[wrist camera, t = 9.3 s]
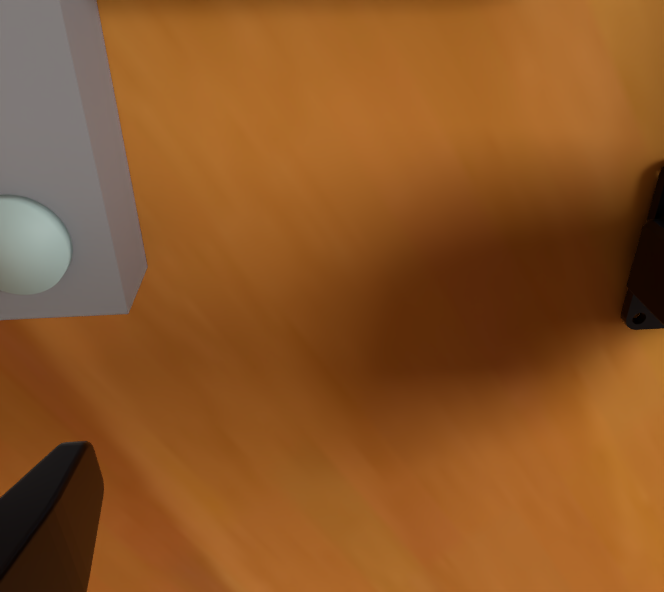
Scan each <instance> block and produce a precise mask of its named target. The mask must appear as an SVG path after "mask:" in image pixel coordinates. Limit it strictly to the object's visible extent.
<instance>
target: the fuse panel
mask: <svg viewBox="0 0 664 592" xmlns="http://www.w3.org/2000/svg"><path fill="white" fill-rule="evenodd" d="M146 270H147V261H146V256H145V251H144V246H143V241H142V235H141V230H140V225H139V220H138V215H137V209H136V204H135V199H134V194H133V189H132V183H131V178H130V173H129V168H128V163H127V157H126V152H125V147H124V142H123V136H122V131H121V126H120V121H119V116H118V110H117V105H116V100H115V95H114V90H113V84H112V79H111V74H110V69H109V64H108V58H107V53H106V48H105V43H104V38H103V32H102V27H101V22H100V17H99V12H98V6H97V1H96V0H0V320H10V319H32V318H53V317H74V316H95V315H116V314H129V311H130V309H131V306H132V304H133V301H134V299H135V296H136V294H137V292H138V289H139V287H140V284H141V282H142V279H143V277H144V274H145V272H146Z"/></svg>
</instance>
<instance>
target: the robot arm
mask: <svg viewBox="0 0 664 592" xmlns="http://www.w3.org/2000/svg"><path fill="white" fill-rule="evenodd" d="M627 288H628V290H627V294H626V297H625V301H624V305H623V308H622V312H621V319H622V321H623V322H624V323H625V324H626V325H627V327H629V328H630V329H634V330H640V329H660V328H664V167H663V168H662V169H661V172H660V174H659V177H658V181H657V185H656V188H655V192H654V196H653V199H652V203H651V206H650V210H649V214H648V217H647V221H646V223H645V224H644V226H643V227H642V231H641V235H640V238H639V242H638V246H637V249H636V253H635V257H634V260H633V264H632V268H631V271H630V275H629V279H628V282H627ZM638 313H640V314H639V316H637V317H636V318H633V317H634V316H635V315H636V314H638ZM103 494H104V483H103V478H102V474H101V471H100V467H99V464H98V461H97V457H96V454H95V451H94V448H93V446H92V444H91V443H90V442H87V441H78V442H65V443H61V444H60V445H58V446H57V447H56V448H55V449H53V450H52V451H51V452H50V453H49V454H48V455H47V456H46V457H45V458H44V459H42V460H41V461H40V462H39V463H38V464H37V465H36V466H35V467H34V468H33V469H31V470H30V471H29V472H28V473H27V474H26V475H25V476H24V477H23V478H21V479H20V480H19V481H18V482H17V483H16V484H15V485H14V486H13V487H12V488H10V489H9V490H8V491H7V492H6V493H5V494H4V495H3V496H2V497H1V498H0V592H87V587H88V582H89V576H90V571H91V565H92V559H93V553H94V547H95V541H96V536H97V530H98V524H99V518H100V512H101V507H102V501H103Z"/></svg>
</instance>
